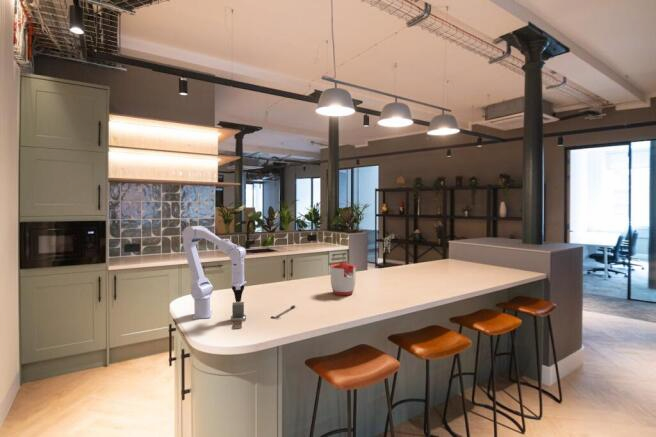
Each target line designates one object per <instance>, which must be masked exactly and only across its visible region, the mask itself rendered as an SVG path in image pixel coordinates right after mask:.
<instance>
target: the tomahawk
mask: <svg viewBox="0 0 656 437" xmlns="http://www.w3.org/2000/svg"><path fill="white" fill-rule="evenodd" d="M294 308H296V305H291V306H290V308H287V309H285V310H284V311H282V312H281V313H278V315H276V316H270V319H274V320H279V319H280V318H281V316H283V315H285V314H288V312H290V311H292V310H294Z"/></svg>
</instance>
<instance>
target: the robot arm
mask: <svg viewBox="0 0 656 437" xmlns="http://www.w3.org/2000/svg"><path fill="white" fill-rule="evenodd" d="M181 236H182V238H183V241H182V246H183V250H184V254H185V257H186V261H187V264H188V268H189V270H190V274H191V277H192V282H191V283H190V295H191V298H192V299H193V300H194V313H193V317H192V319H193V320H195V319H196V320H197V319H199V320H200V319H209V318H210V319H211V317H212V313H213V312H212V311H211V297H212V296H211V295H212V294H213V291H214V287H213V285H212V283H211V282H210V279H209V278H207V277H206V276H205V273H204V270H203V266H202V264H201V263H202V262H201V260H200V256H199V253H198V249H197V245H198V243H199V242H200V241H201V240H202V239H205V240H206V241H208V242H210V243H213V244H215V246H217V249H218V250H219V251H221V252H223V253H224V254H226V255H228V257H229V259H230V263H231V284H230V285H232V286H231V289H232V292H233V294H234V295H233V296H234V300H235V302H242V296H243V293H244V289H245V285H246V284H247V283H248V282H247V281H245V258H246V256H247V249H246V248H245V247H244V246H238V244H235V243H233V241H232V242H231V240H230V238H220V237H219V236H217V235H216V234H214V233H213V232H212V231H211V230H209V229H208V228H207V227H205V226H203V225H193V226H189V225H188V226H186V227H185V228H183V231H182V233H181Z"/></svg>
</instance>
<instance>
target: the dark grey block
mask: <svg viewBox="0 0 656 437" xmlns="http://www.w3.org/2000/svg"><path fill="white" fill-rule="evenodd" d="M231 309H232V310H231V311H232V312H231V313H232V315H231V316H233V318H244V315H245V302H244V301H241V302H236V301H234V302H232V308H231Z"/></svg>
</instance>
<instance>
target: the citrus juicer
mask: <svg viewBox="0 0 656 437" xmlns="http://www.w3.org/2000/svg"><path fill="white" fill-rule="evenodd" d="M356 267H357V265H355V264H351V263H347V262H345V261H344V260H342V261H341V262H340V263H335V264H331V265H330V285H331V289H332V293H333V294H334V295H338V296H349V295H352V294H353V292H354V291H355V287H356Z"/></svg>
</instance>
